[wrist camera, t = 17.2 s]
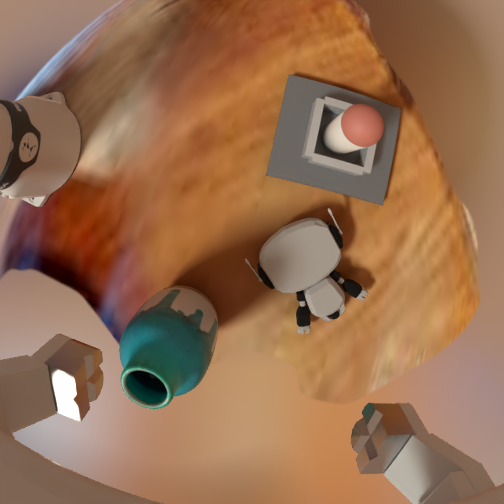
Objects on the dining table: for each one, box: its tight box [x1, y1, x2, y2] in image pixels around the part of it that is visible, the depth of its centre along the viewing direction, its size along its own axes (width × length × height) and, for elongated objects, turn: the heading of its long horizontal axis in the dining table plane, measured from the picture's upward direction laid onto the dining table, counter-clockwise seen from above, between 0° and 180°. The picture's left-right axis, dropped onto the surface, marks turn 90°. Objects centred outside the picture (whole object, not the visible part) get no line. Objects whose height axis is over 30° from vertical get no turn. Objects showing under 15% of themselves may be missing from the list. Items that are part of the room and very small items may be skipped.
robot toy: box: [245, 208, 368, 334], centre depth 41 cm, size 12×4×15 cm
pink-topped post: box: [322, 104, 384, 155], centre depth 31 cm, size 4×4×12 cm
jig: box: [266, 75, 401, 205], centre depth 36 cm, size 16×14×4 cm
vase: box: [119, 285, 218, 409], centre depth 35 cm, size 11×11×19 cm
